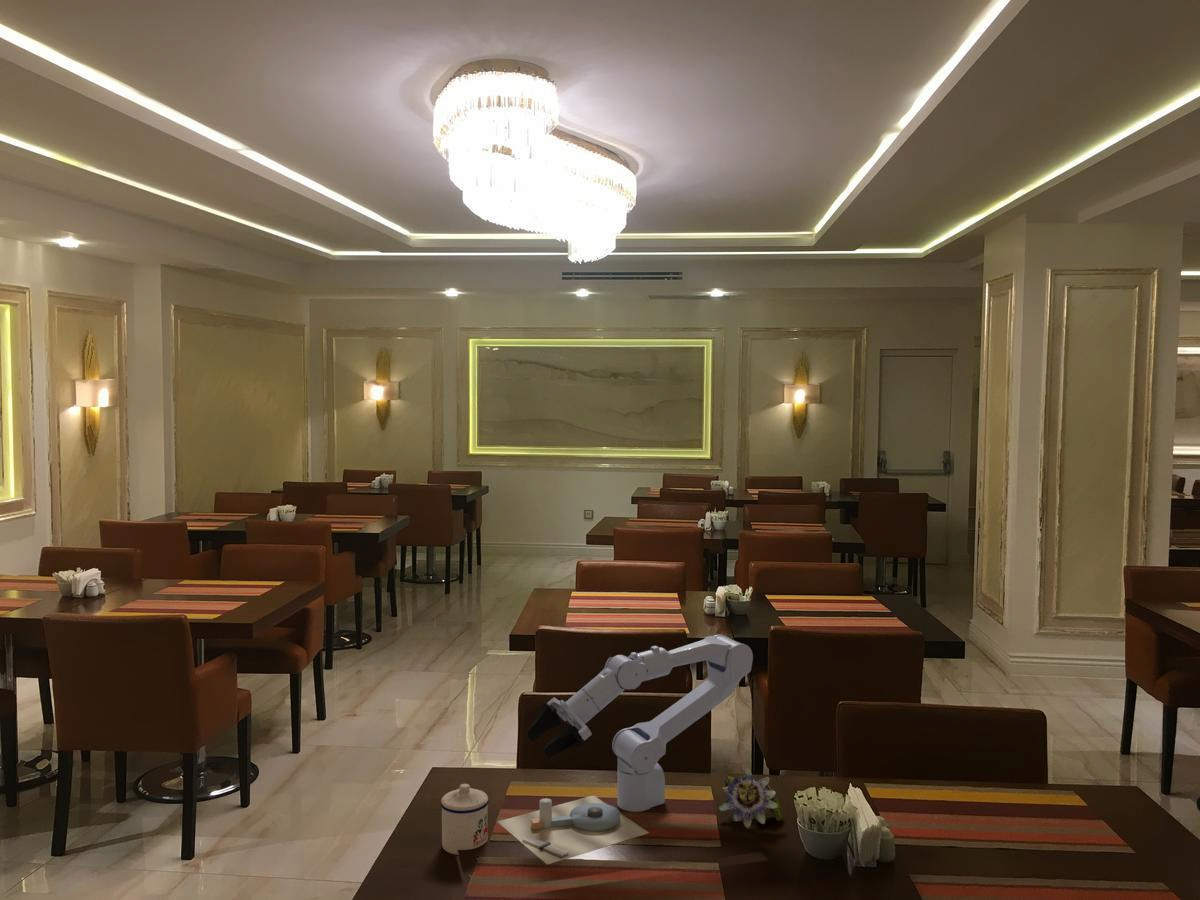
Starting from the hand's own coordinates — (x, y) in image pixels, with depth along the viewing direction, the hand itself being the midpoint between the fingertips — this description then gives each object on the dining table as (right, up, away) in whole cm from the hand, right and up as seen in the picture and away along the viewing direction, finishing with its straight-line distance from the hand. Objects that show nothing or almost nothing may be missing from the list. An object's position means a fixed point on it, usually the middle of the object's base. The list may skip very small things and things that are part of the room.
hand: (536, 745), depth 186 cm
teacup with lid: (-13, -17, -4) cm, 22 cm away
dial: (+8, -16, +2) cm, 17 cm away
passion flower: (+43, -17, +6) cm, 46 cm away
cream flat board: (+7, -17, 0) cm, 18 cm away
